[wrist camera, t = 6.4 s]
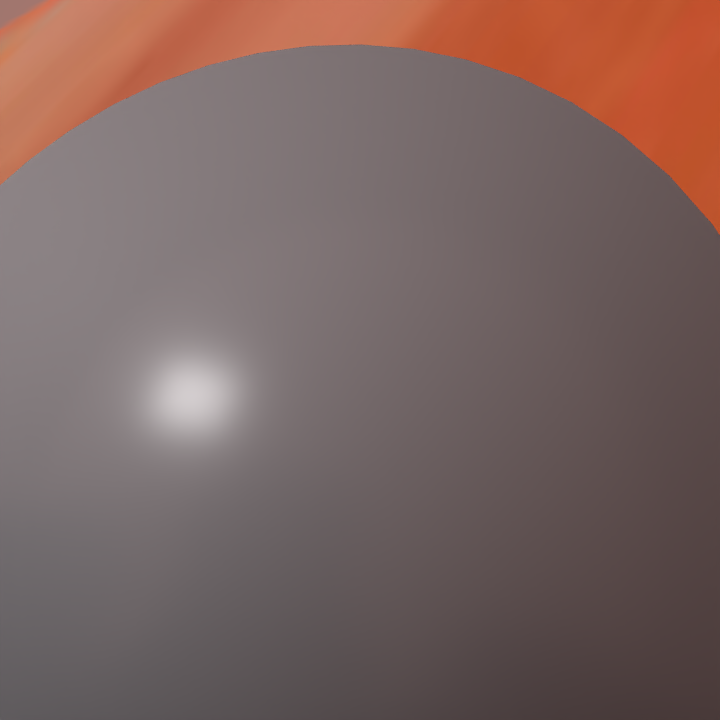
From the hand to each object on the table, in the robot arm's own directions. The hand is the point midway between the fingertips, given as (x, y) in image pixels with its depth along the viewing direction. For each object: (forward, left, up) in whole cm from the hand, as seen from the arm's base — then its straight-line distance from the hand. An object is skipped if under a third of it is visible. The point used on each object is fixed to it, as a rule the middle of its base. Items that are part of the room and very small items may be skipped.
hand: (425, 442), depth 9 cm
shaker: (-1, 0, -7) cm, 7 cm away
